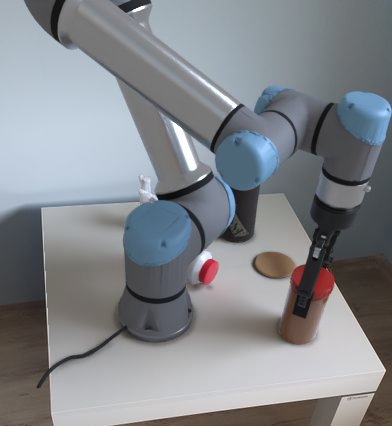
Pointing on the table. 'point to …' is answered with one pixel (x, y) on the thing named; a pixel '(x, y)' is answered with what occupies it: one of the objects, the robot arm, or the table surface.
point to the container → (243, 215)
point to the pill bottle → (202, 269)
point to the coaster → (274, 265)
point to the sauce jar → (300, 320)
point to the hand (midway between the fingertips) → (306, 301)
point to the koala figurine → (146, 190)
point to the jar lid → (322, 285)
